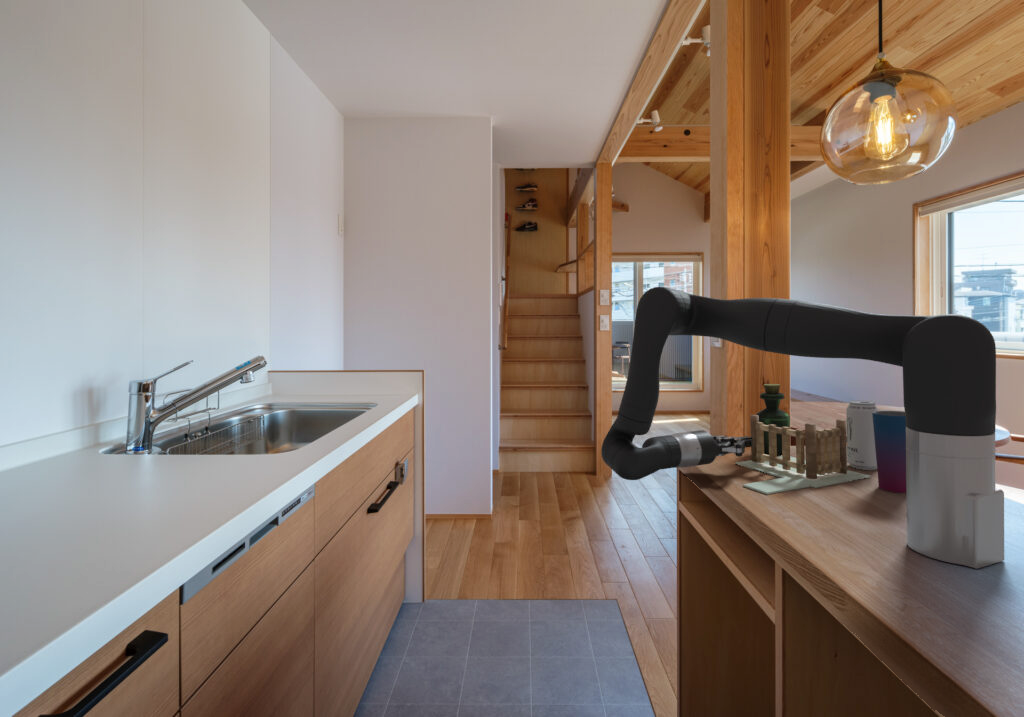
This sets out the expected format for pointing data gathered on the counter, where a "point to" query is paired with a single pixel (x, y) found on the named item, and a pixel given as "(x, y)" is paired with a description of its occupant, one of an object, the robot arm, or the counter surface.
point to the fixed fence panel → (825, 449)
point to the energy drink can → (861, 435)
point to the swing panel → (786, 432)
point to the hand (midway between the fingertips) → (750, 441)
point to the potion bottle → (773, 415)
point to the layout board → (794, 478)
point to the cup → (890, 449)
